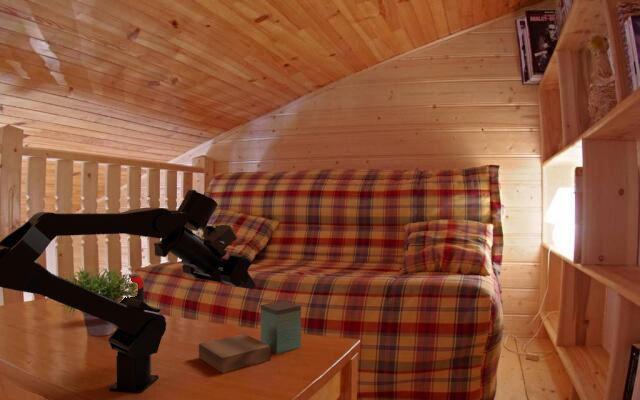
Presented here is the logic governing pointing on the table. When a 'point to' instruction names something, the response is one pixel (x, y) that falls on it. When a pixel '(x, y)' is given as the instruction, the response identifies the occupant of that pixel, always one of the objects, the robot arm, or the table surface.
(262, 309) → the tea tin
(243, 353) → the walnut block
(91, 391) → the table surface
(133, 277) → the soda can
